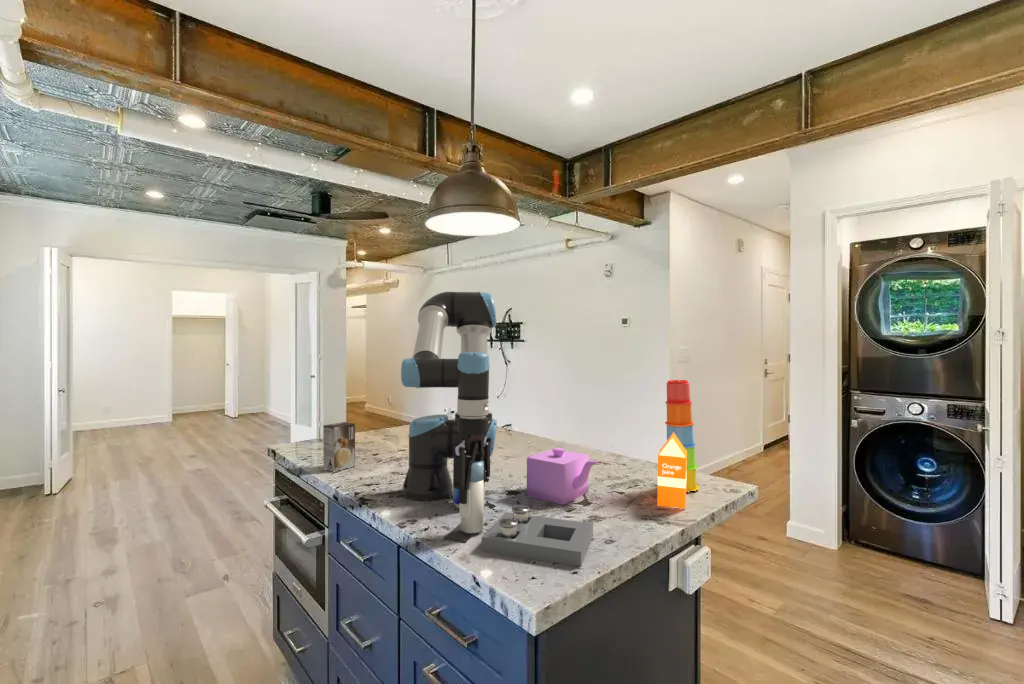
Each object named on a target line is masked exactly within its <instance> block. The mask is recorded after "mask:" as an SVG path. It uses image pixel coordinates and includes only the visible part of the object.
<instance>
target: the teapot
mask: <svg viewBox="0 0 1024 684" xmlns="http://www.w3.org/2000/svg"><path fill="white" fill-rule="evenodd" d="M589 458H590V455H589V454H586V453H581V452H574V451H570V450H569V451H568V450H565V448H562V447H554V448H552V449H549V450H546V451H543V452H540V453H537V454H531V455H529V456H527V457H526V497H529V498H532V499H537V500H541V501H545V502H549V503H552V504H558V505H560V506H565V505H568V504H569V503H570V502H572V501H575V500H576V499H579V498H580V497H582V496H584V495H586V494H588V493H589V483H590V482H589V479H590V472H591V468H592V467H593V466H594V465H595V464H599V463H600V462H599V460H590V459H589ZM587 492H588V493H587Z"/></svg>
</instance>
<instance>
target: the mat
mask: <svg viewBox="0 0 1024 684" xmlns="http://www.w3.org/2000/svg"><path fill="white" fill-rule="evenodd" d="M475 534H476V533H466V532H463V531H461V522H460V523H459V524H457V525H456V526H455V528H453V529H452V530H451V531H449V533H447V534H446V535H445V536H444V537H443V540H446V541H453V542H458V543H464V544H466V543H467V542H468V541H469V540H471V538H473V536H474V535H475Z"/></svg>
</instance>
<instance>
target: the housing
mask: <svg viewBox="0 0 1024 684" xmlns="http://www.w3.org/2000/svg"><path fill="white" fill-rule="evenodd" d="M505 518H511V519H513V512H510V511H509V512H508V511H506V512H504V513H503V515H501V516H500V517H499V518H498V519H497V520H496V521H495V523H494V524H492V526H491V527H490V528H488V530H487V531H486V532H485V533H484V534H483V535H482V536H481V552H486V553H487V552H488V553H494V554H500V555H506V556H511V557H517V558H518V557H519V558H522V559H523V558H526V559H528V560H529V559H532V560H535V561H536V560H537V561H541V562H542V561H543V562H548V563H554V564H561V565H568V566H573V567H578V568H579V567H582V566H583V563H584V560H585V557H586V556H587V553H588V550H589V547H590V545H591V542H592V540H593V537H594V523H592V522H591V523H590V522H584V521H576V520H567V519H561V518H554V517H553V518H551V517H546V516H537V515H531V514H530V515H529V514H528V523H527V524H522V523H518V525H517V530H516V538H515V539H510V538H503V537H500V525H499V521H500V520H501V519H505Z"/></svg>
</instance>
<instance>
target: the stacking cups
mask: <svg viewBox="0 0 1024 684" xmlns="http://www.w3.org/2000/svg"><path fill="white" fill-rule="evenodd" d="M665 404H666V421H665V422H664V424H665V425H666V441H667V440H668V439H669V438H670V437H671V435H672V434H673V432H674V434H675V435H676V437H677V438H678V439H679V441H680V442H681V444H682V445H683V447H684V448H685V450H686V451H687V459H686V472H687V473H686V492H688V491H695V492H697V491H699V489H700V488H699V487H700V486H699V485H698V484H697V469H698V464H696V454H695V453H696V452H695V447H696V443H695V442H694V428H693V425H694V424H695V422H693V419H692V418H693V417H692V416H693V415H692V404H693V402H692V401H691V390H690V382H689V381H688V380H687V379H686V380H685V379H673V380H672V379H671V380H667V382H666V401H665ZM695 489H696V490H697V491H696V490H695ZM688 493H689V492H688Z"/></svg>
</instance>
